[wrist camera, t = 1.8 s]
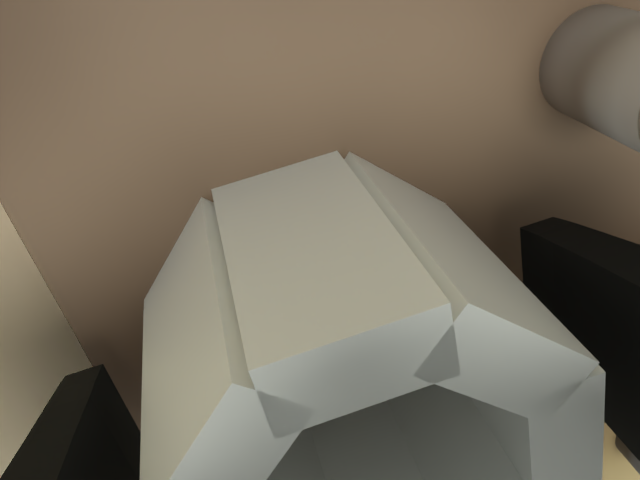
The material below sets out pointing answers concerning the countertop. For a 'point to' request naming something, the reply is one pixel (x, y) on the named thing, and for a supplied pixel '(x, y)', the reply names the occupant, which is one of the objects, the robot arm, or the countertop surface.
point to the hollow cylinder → (355, 343)
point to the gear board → (303, 128)
